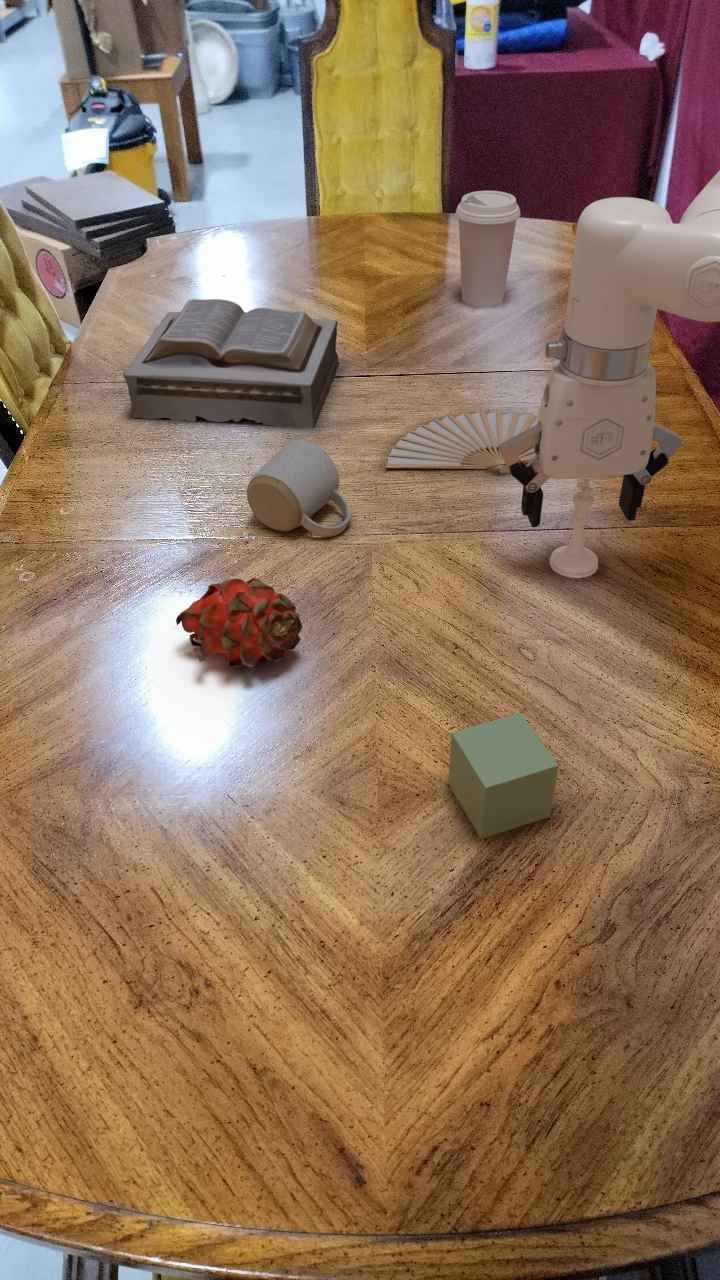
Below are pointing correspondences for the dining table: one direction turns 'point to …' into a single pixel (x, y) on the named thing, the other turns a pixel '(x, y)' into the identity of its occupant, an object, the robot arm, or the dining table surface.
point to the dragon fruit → (242, 623)
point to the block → (502, 774)
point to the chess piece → (577, 540)
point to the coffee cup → (486, 245)
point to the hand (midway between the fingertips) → (579, 516)
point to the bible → (235, 366)
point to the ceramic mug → (297, 489)
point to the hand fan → (462, 442)
